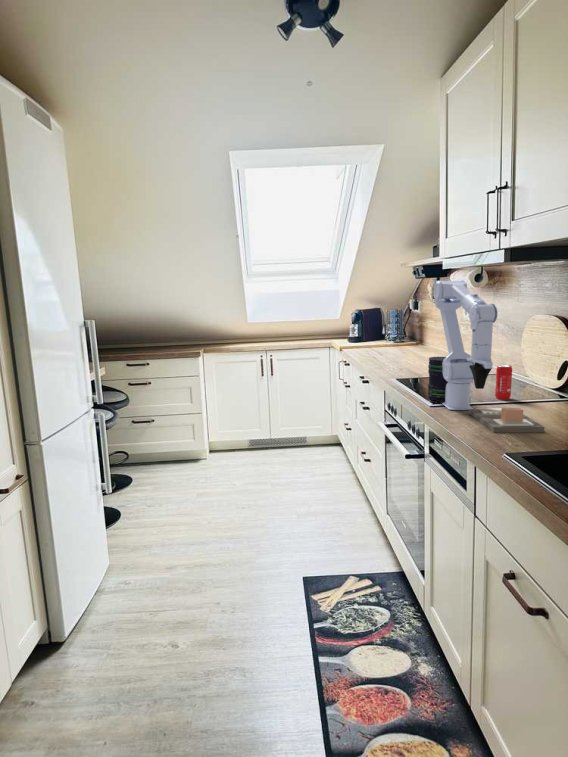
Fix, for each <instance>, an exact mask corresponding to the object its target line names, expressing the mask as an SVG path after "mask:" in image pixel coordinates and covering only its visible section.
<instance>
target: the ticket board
mask: <svg viewBox="0 0 568 757" xmlns="http://www.w3.org/2000/svg"><path fill="white" fill-rule="evenodd" d="M502 408H503V407H501V408H499V407H498V408H497V407H491V408H490V407H489V408H487V407H486V408H483V407H482V408H481V407H480V408H474V409H469V410H468V415H470V416H471V417H473V419H475V420H476V421H478V422H479V423H480V424H481V425H483V426H484V427H486V428H487V429H488V430H490V431H491V432H492V433H545V426H544V425H542V424H541V423H539V422H537V421H535V420H534V419H532V418H530V417H528V416H527V415H525V414H523V419H526V420H527V421H529V422H531V423H532V424H534V426H500V425H499V424H498V423H496V422H495V421H493V419H501V410H502Z"/></svg>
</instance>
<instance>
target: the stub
mask: <svg viewBox="0 0 568 757" xmlns="http://www.w3.org/2000/svg"><path fill="white" fill-rule="evenodd" d="M501 408H502V410H501V419H493V421H495V422H496V423H498V424H499V425H500V426H534V424H532V423H531V422H529V421H527V420H526V419H523V415H524V409H522V408H521V407H501Z"/></svg>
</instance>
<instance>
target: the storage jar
mask: <svg viewBox="0 0 568 757" xmlns="http://www.w3.org/2000/svg"><path fill="white" fill-rule="evenodd" d="M446 357H447V356H431V357H428V366H427V368H428V371H427V373H428V383H427V400H428V399H431V400H436V401H435V402H437V401H443V402H442V403H445V393H446V385H447V383H448V381H446V380H445V379H444V377H443V364H442V363H443V360H444V359H445V358H446ZM431 400H430V401H431Z"/></svg>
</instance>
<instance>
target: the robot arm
mask: <svg viewBox="0 0 568 757" xmlns="http://www.w3.org/2000/svg"><path fill="white" fill-rule="evenodd" d="M433 299H434V304H435V307H436V308H437V309H439V310H440V311H439V312H440V315H441V321H442V326H443V331H444V336H445V342H446V345H447V350H448V355H447V356H445V357H446V358H445V359H444V360H443V363H442V364H443V377H444V379H445V380H446V381H448V383H447V385H446V393H445V402H441V404H442V405H443V406H445V408H446V409H448V410H449V411H469V409H475V408H474V407H472V406H471V404H470V403H471V402H470V401H471V383H474V388H475V389H476V390H482V389H484V388H485V385H486V381H487V379H488V376H489V374H490V372H491V371H492V370H493V360H492V345H493V344H492V343H493V329H494V328H493V326H494V325H493V324H494V323H495V322H496V321H497V318H498V308H497V306H496V305H495V303H486V301H485V300H484V299H482V298H481V297H480V296H479V294H478V293H477V292H474V293H473V292H472V293H471V292H470V291H469V290H468V284H467V282H466V281H465V280H462V279H461V280H437V281H436V282H435V284H434V286H433ZM461 307H462V309H463V310H464V311H466V313H467V314H468V316H469V322H470V330H471V329H472V330H471V331H472V332H471V348H470V349H471V351H470V352H471V353H470V354H469V353H468V352H465V348H464V343H463V342H464V341H463V340H462V339H463V338H462V334H461V330H460V325H459V321H458V320H459V319H458V315H457V310H458V309H460V308H461Z"/></svg>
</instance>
